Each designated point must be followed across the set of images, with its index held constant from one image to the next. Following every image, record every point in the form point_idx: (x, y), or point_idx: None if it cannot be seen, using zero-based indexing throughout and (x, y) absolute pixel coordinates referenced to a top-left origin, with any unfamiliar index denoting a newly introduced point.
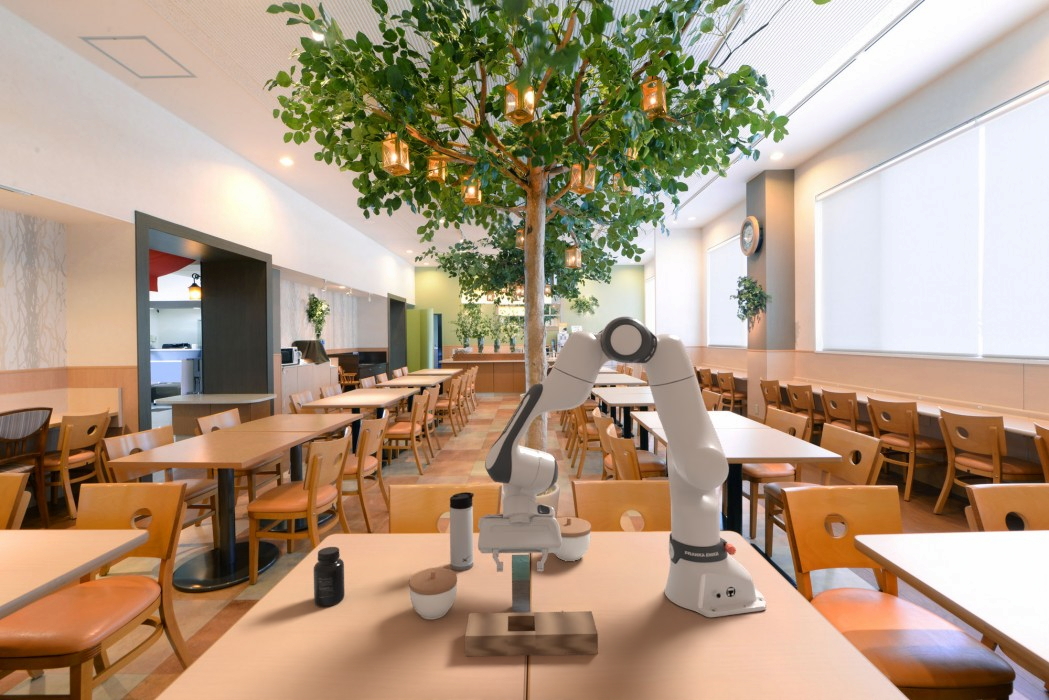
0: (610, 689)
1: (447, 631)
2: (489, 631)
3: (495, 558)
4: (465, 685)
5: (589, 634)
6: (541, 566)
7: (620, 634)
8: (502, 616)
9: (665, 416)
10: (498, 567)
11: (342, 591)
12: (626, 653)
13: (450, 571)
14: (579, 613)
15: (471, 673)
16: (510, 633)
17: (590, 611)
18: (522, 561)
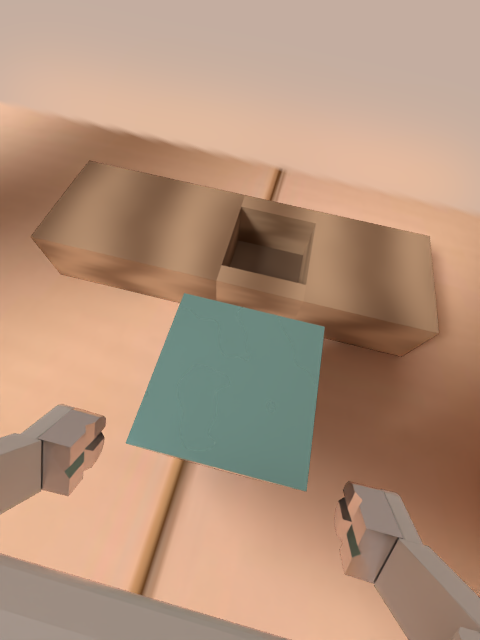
0: (142, 138)
1: (468, 378)
2: (365, 235)
3: (455, 576)
4: (388, 203)
5: (109, 166)
6: (67, 413)
7: (3, 240)
8: (324, 286)
9: None
10: (388, 496)
11: None
12: (46, 189)
13: None
14: (76, 237)
15: (380, 224)
16: (309, 214)
17: (34, 236)
18: (234, 322)
